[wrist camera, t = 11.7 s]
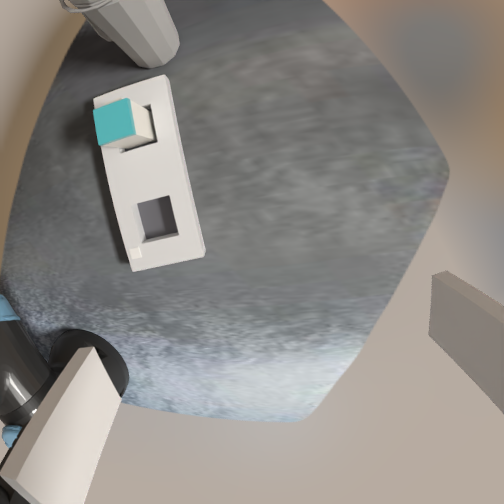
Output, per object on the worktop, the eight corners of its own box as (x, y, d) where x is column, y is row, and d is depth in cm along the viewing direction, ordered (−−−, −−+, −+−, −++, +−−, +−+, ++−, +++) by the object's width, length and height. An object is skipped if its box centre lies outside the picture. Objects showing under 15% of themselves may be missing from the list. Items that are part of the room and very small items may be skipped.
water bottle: (184, 23, 33) (143, -94, 9) (177, 71, 35) (116, -28, 11) (123, 28, 32) (40, -63, 8) (114, 75, 34) (8, 6, 10)
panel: (138, 264, 42) (132, 272, 39) (101, 102, 35) (93, 98, 32) (205, 250, 42) (203, 257, 39) (169, 80, 35) (164, 74, 32)
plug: (128, 148, 37) (98, 145, 27) (123, 117, 36) (92, 105, 26) (156, 140, 37) (133, 133, 27) (150, 108, 36) (126, 92, 26)
